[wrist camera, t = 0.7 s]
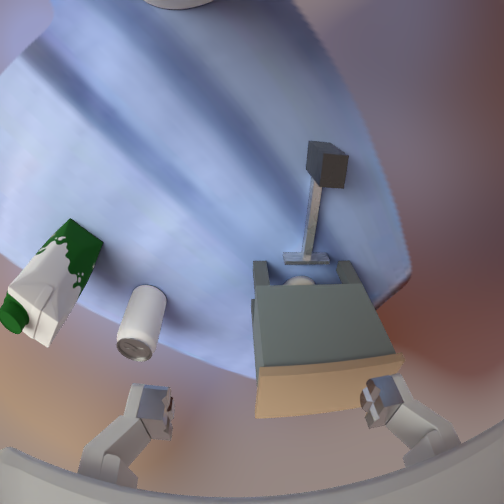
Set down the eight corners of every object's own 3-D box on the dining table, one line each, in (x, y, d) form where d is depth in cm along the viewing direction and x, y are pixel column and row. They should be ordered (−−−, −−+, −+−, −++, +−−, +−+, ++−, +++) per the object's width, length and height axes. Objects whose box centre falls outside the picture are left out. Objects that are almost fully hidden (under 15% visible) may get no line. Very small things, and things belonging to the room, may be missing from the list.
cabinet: (250, 258, 45) (260, 376, 27) (352, 258, 46) (405, 360, 28) (248, 310, 51) (255, 419, 33) (338, 307, 52) (373, 405, 34)
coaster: (283, 275, 47) (284, 282, 46) (318, 275, 48) (320, 282, 46) (279, 301, 51) (280, 309, 49) (312, 301, 51) (314, 308, 49)
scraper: (293, 139, 35) (306, 151, 29) (343, 144, 36) (364, 157, 30) (282, 255, 45) (289, 284, 39) (325, 255, 45) (337, 283, 40)
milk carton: (67, 210, 38) (-4, 292, 22) (111, 242, 42) (57, 336, 25) (52, 247, 42) (-6, 328, 25) (91, 274, 45) (46, 364, 28)
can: (160, 315, 51) (148, 367, 41) (128, 301, 49) (110, 352, 39) (172, 293, 48) (160, 347, 38) (138, 277, 46) (118, 330, 36)
